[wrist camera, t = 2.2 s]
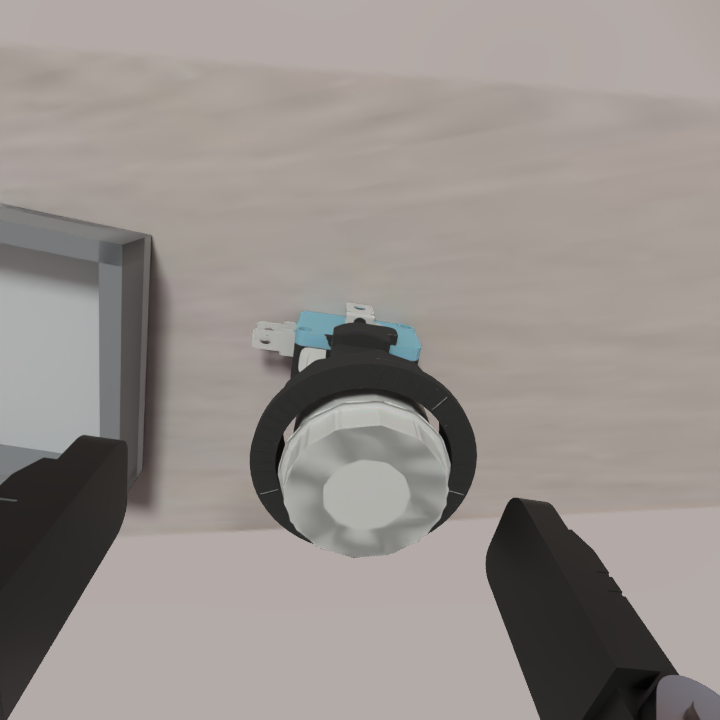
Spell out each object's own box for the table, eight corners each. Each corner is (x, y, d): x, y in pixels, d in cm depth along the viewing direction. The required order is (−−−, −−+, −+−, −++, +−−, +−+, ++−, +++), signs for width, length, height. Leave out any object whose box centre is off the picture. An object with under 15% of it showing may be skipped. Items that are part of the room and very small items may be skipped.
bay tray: (151, 235, 17) (122, 244, 15) (142, 469, 21) (118, 505, 19) (-126, 177, 16) (-203, 177, 13) (-78, 437, 20) (-131, 470, 18)
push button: (254, 381, 19) (174, 570, 10) (264, 259, 17) (175, 357, 8) (403, 400, 20) (456, 594, 11) (429, 285, 18) (521, 402, 9)
